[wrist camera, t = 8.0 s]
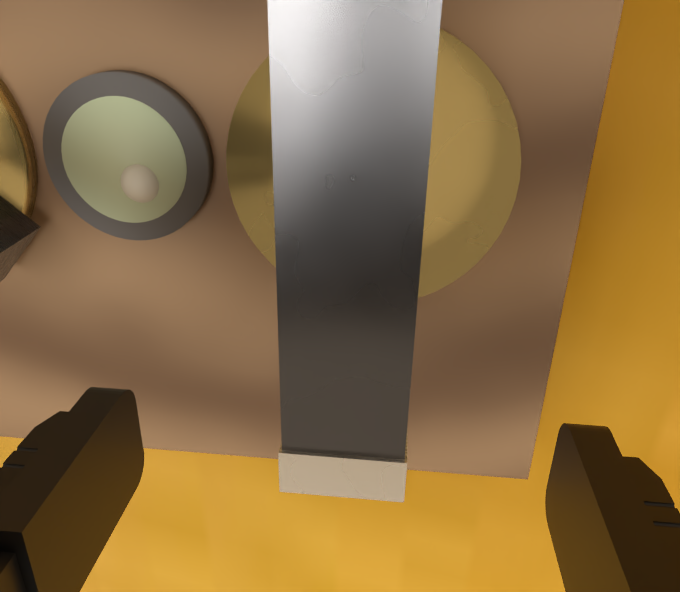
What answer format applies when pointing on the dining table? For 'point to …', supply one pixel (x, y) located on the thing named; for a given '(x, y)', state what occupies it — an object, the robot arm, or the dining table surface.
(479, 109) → the knob
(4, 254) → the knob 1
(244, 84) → the base plate
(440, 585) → the dining table surface
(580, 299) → the dining table surface
